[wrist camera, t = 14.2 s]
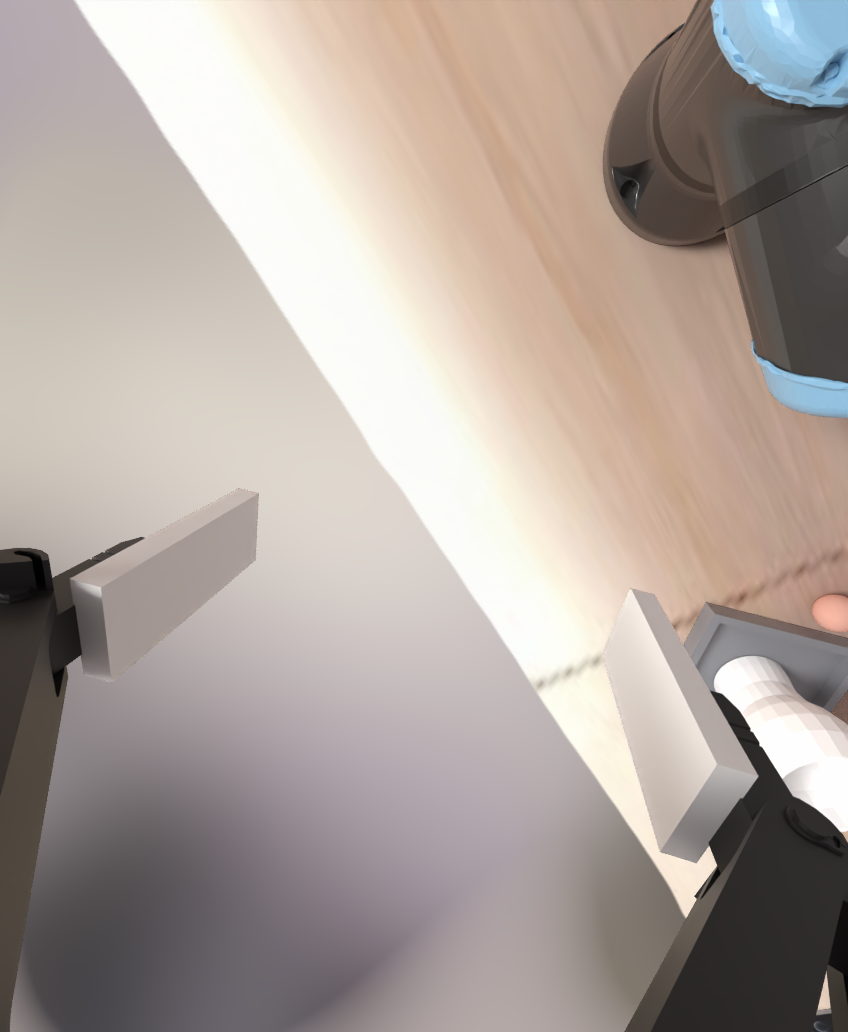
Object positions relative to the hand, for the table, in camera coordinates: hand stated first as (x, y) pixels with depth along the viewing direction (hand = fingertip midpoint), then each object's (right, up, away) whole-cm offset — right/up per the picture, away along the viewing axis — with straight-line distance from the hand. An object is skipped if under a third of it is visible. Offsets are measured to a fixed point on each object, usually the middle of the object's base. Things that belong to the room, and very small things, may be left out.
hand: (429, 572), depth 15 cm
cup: (+39, -18, +39) cm, 58 cm away
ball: (+45, -8, +34) cm, 57 cm away
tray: (+40, -18, +39) cm, 59 cm away
